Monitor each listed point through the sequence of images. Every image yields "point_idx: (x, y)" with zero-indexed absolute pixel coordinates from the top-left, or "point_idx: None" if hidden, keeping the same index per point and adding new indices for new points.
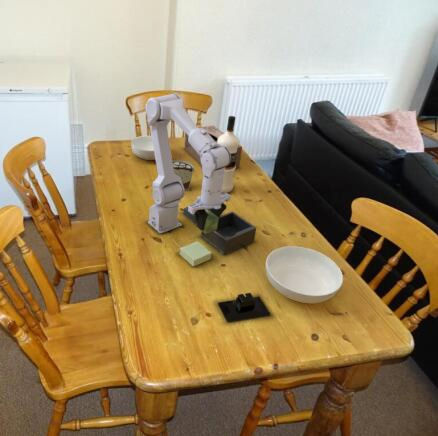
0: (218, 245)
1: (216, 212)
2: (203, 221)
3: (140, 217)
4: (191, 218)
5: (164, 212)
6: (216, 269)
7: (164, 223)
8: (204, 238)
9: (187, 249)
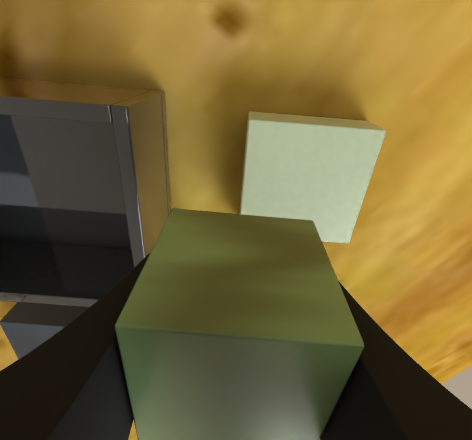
0: (158, 150)
1: (93, 424)
2: (411, 373)
3: None
4: None
5: None
6: (292, 14)
7: None
8: None
9: (330, 217)
